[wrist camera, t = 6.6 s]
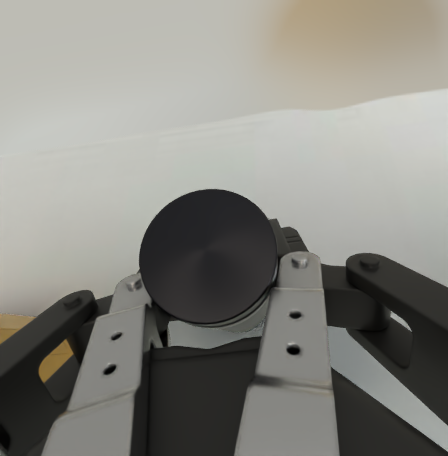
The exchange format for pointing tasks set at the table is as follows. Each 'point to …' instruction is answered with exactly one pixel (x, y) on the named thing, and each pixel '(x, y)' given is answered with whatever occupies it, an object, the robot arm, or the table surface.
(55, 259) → the table surface
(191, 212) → the dark grey cylinder
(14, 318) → the mug
